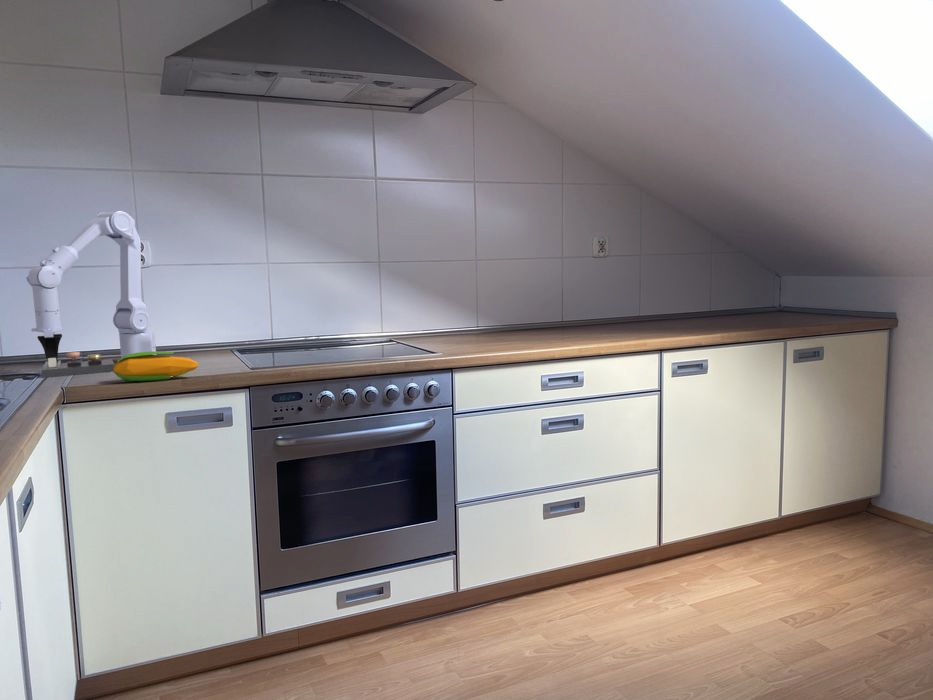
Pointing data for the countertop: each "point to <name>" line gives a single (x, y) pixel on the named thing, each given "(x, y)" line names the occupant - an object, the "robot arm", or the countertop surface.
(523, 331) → the countertop surface
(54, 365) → the slider knob
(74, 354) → the terracotta button
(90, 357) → the brass button
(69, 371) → the panel
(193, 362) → the corn
